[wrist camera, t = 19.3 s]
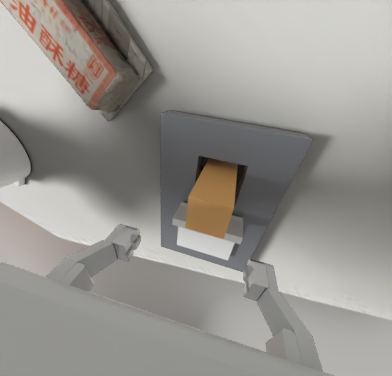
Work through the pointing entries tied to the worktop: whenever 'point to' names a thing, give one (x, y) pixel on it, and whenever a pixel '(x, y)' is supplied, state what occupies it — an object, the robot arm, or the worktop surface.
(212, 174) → the orange block
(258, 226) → the socket plate
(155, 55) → the worktop surface
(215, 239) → the shutter
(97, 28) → the packaged product
